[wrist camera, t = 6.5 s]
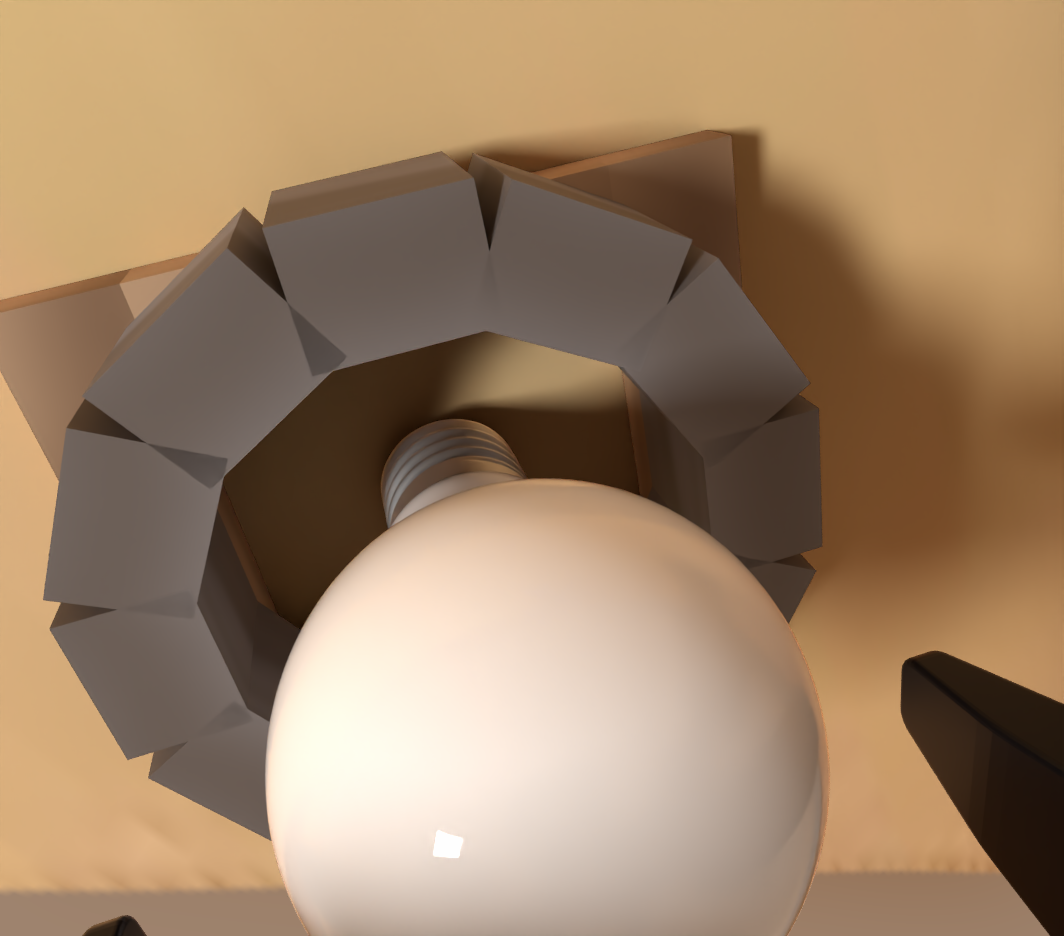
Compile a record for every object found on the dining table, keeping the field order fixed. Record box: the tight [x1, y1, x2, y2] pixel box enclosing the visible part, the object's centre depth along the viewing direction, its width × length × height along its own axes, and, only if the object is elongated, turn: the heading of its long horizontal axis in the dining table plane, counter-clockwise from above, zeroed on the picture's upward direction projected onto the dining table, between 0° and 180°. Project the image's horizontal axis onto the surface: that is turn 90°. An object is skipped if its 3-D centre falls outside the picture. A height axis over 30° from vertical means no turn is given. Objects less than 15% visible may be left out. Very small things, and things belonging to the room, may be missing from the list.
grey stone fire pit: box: [0, 130, 822, 841], centre depth 15 cm, size 12×12×4 cm
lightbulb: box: [265, 419, 830, 936], centre depth 12 cm, size 6×6×11 cm
